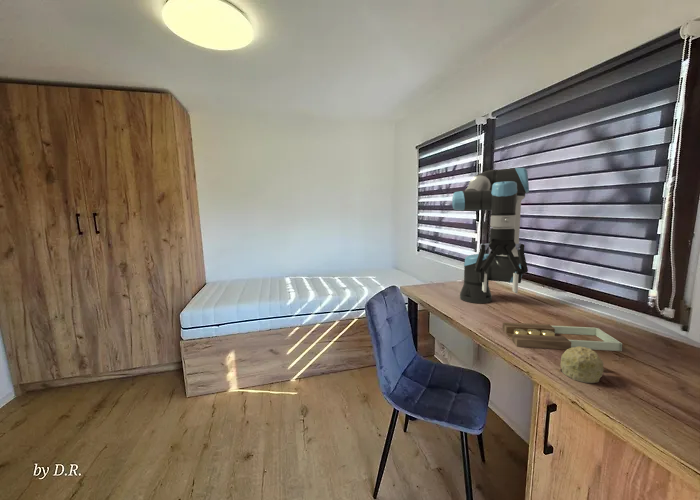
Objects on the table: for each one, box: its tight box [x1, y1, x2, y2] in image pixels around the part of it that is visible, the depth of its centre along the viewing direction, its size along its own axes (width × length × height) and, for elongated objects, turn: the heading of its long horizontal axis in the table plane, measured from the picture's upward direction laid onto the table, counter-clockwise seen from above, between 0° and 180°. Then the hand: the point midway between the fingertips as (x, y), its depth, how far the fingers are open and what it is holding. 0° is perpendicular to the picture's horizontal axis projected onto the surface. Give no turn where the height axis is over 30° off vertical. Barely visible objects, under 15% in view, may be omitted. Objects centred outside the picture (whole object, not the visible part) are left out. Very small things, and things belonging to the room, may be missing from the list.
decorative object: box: [560, 346, 604, 384], centre depth 83 cm, size 9×10×10 cm
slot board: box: [501, 321, 571, 351], centre depth 104 cm, size 15×16×4 cm
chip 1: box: [514, 329, 527, 335], centre depth 104 cm, size 4×4×2 cm
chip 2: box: [527, 329, 541, 335], centre depth 104 cm, size 4×4×2 cm
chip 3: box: [541, 330, 556, 336], centre depth 103 cm, size 4×4×2 cm
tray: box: [551, 325, 623, 352], centre depth 101 cm, size 13×15×4 cm
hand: (499, 291), depth 104 cm, fingers open, 9 cm apart
